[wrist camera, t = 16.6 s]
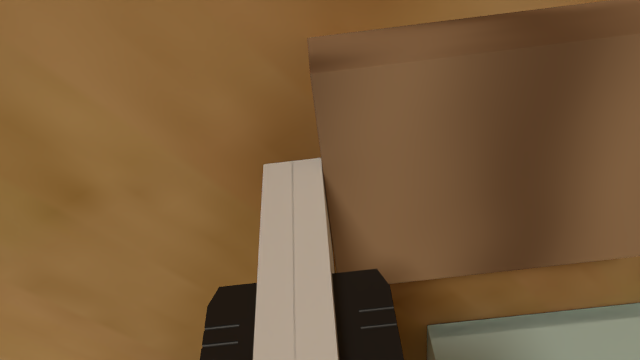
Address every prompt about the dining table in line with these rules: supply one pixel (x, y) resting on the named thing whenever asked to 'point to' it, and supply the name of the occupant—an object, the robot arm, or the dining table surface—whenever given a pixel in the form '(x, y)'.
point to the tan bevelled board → (482, 141)
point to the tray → (542, 336)
